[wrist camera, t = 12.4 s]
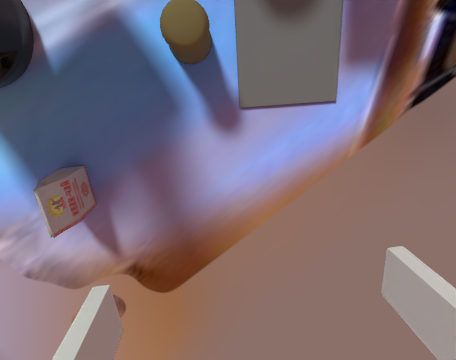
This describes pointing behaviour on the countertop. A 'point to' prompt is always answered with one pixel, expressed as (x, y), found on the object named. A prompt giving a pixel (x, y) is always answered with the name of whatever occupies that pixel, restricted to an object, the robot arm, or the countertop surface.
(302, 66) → the mat
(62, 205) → the small printed carton
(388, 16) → the countertop surface
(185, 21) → the olive round-headed peg
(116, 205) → the countertop surface
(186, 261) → the countertop surface
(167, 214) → the countertop surface
